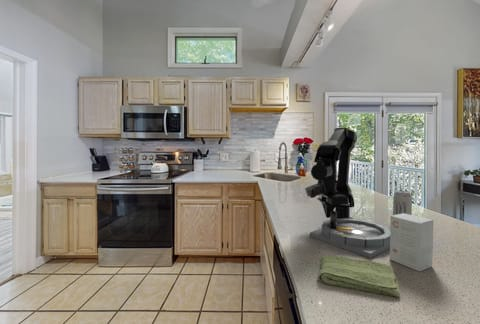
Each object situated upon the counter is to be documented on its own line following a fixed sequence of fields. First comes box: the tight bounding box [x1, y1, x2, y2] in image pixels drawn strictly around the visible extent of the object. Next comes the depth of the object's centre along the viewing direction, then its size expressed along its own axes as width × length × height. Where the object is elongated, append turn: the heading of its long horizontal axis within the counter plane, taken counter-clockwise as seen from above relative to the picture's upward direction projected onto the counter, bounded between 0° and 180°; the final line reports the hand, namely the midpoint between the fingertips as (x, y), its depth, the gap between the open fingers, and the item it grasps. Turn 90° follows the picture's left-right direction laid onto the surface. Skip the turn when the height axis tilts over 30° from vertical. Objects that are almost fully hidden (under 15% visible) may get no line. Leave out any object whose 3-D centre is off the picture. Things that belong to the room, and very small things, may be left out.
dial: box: [329, 210, 382, 237], centre depth 87 cm, size 17×17×7 cm
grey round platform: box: [309, 218, 390, 259], centre depth 87 cm, size 22×22×4 cm
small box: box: [389, 213, 434, 272], centre depth 68 cm, size 8×6×13 cm
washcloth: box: [317, 254, 401, 297], centre depth 62 cm, size 13×18×3 cm
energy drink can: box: [392, 190, 413, 215], centre depth 95 cm, size 6×6×15 cm
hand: (327, 217), depth 94 cm, fingers closed
